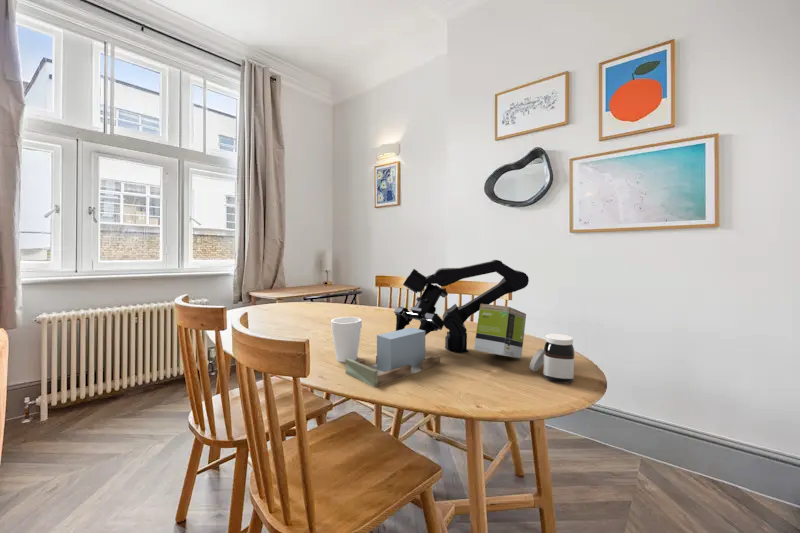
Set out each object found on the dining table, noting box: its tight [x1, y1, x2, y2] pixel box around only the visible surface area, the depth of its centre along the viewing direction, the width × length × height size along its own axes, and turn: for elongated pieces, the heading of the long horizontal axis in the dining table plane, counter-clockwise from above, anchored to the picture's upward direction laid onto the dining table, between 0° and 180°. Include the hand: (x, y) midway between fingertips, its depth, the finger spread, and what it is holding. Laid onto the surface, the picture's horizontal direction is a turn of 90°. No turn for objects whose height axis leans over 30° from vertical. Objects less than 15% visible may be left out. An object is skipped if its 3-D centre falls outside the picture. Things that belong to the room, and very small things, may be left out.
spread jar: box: [529, 333, 575, 384], centre depth 99 cm, size 12×11×12 cm
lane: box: [345, 354, 442, 388], centre depth 104 cm, size 26×25×5 cm
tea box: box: [473, 304, 527, 359], centre depth 112 cm, size 15×10×15 cm, turn 141°
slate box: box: [376, 326, 426, 372], centre depth 105 cm, size 14×6×10 cm, turn 132°
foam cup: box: [330, 316, 363, 363], centre depth 112 cm, size 10×9×13 cm
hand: (405, 339), depth 115 cm, fingers open, 9 cm apart
